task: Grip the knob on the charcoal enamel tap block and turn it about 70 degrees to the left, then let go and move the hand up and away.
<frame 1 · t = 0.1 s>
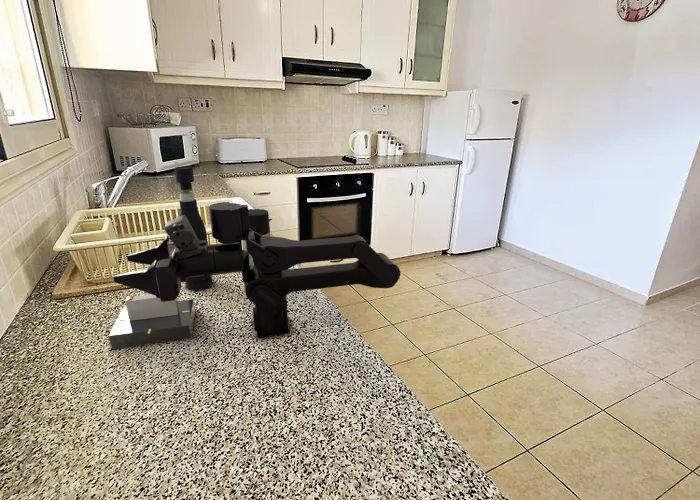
hand: (121, 268, 66), 17 cm above the countertop, tool horizontal, fingers open, 9 cm apart
knob: (152, 305, 76), point 5 cm above the countertop, hinge at 0.0°
tap block: (157, 328, 77), on the countertop
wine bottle: (199, 285, 96), on the countertop
spray can: (260, 287, 96), on the countertop
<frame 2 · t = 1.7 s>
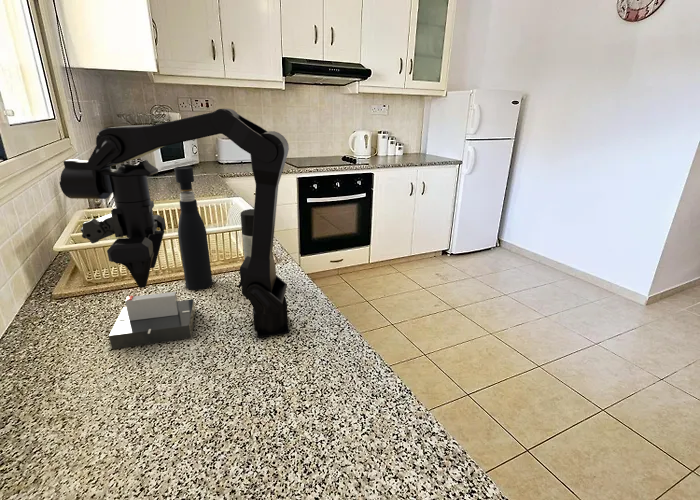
hand: (147, 277, 73), 12 cm above the countertop, tool pointing down, fingers open, 9 cm apart
nothing on the countertop moved.
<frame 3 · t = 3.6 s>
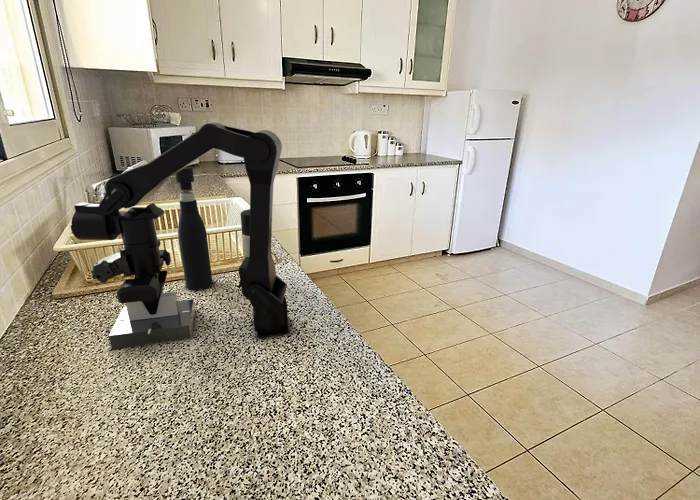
hand: (154, 311, 76), 4 cm above the countertop, tool pointing down, fingers closed on knob, 2 cm apart
knob: (152, 305, 76), point 5 cm above the countertop, hinge at 0.0°, touching gripper
everything else where it was.
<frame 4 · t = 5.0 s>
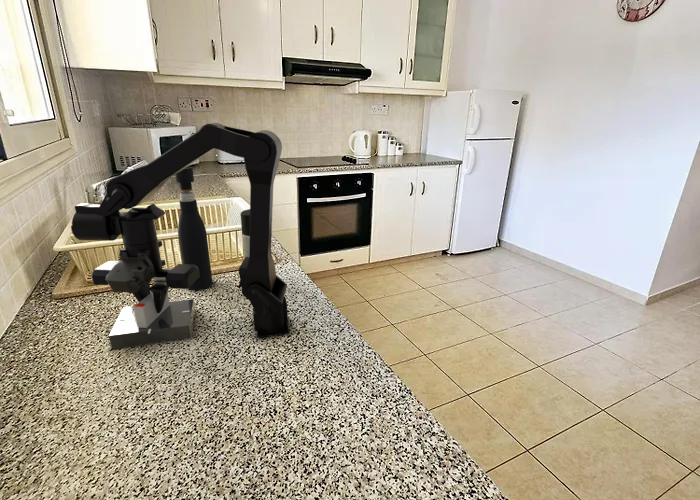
hand: (154, 312, 76), 4 cm above the countertop, tool pointing down, fingers closed on knob, 2 cm apart
knob: (152, 305, 76), point 5 cm above the countertop, hinge at 69.9°, touching gripper
everything else where it was.
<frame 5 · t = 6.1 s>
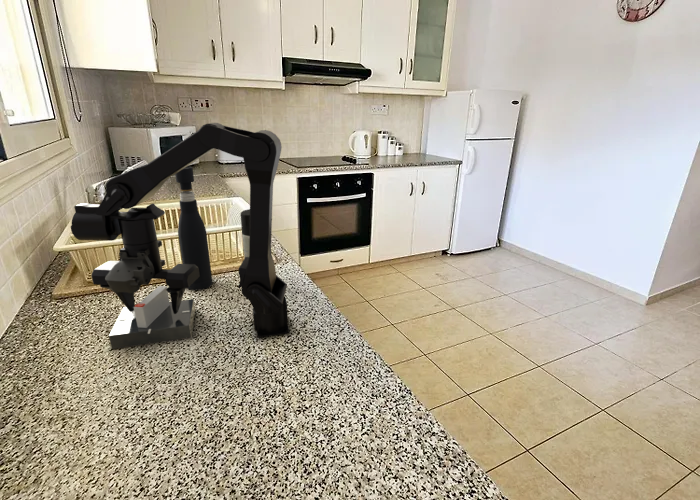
hand: (154, 311, 76), 4 cm above the countertop, tool pointing down, fingers open, 9 cm apart
knob: (152, 305, 76), point 5 cm above the countertop, hinge at 69.9°
everything else where it was.
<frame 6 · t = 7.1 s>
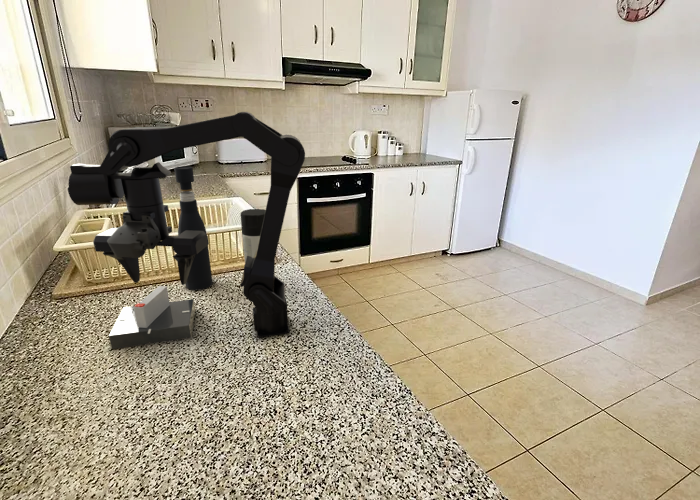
hand: (160, 283, 71), 12 cm above the countertop, tool pointing down, fingers open, 9 cm apart
nothing on the countertop moved.
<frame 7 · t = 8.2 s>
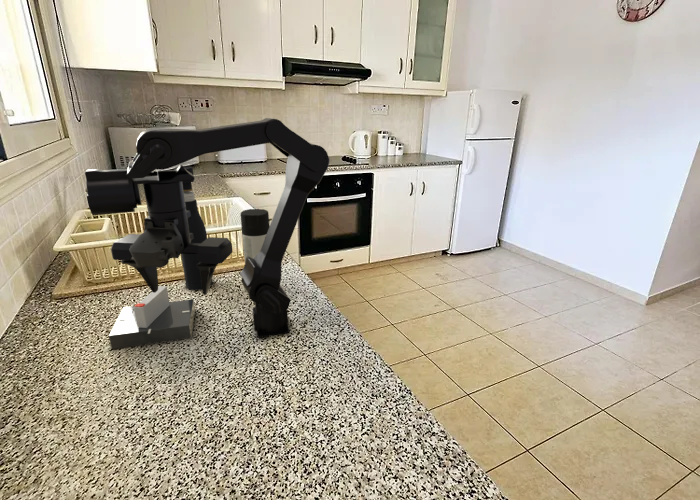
hand: (180, 292, 67), 12 cm above the countertop, tool pointing down, fingers open, 9 cm apart
nothing on the countertop moved.
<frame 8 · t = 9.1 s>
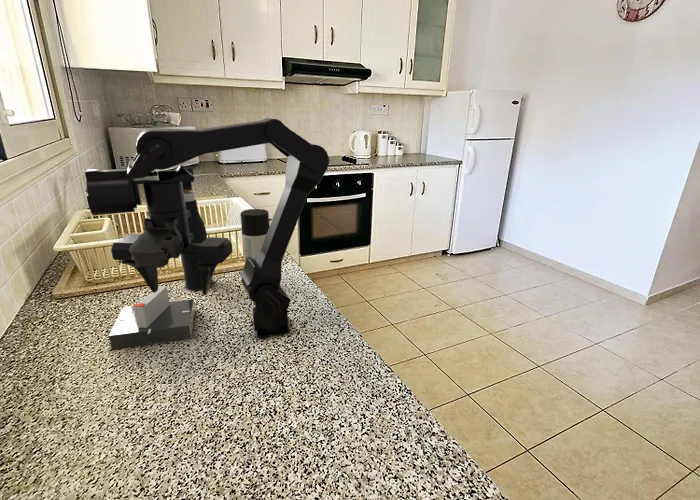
hand: (180, 292, 67), 12 cm above the countertop, tool pointing down, fingers open, 9 cm apart
nothing on the countertop moved.
at the end: knob at +70° (first picture: +0°); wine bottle moved 0.2 cm from its start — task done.
